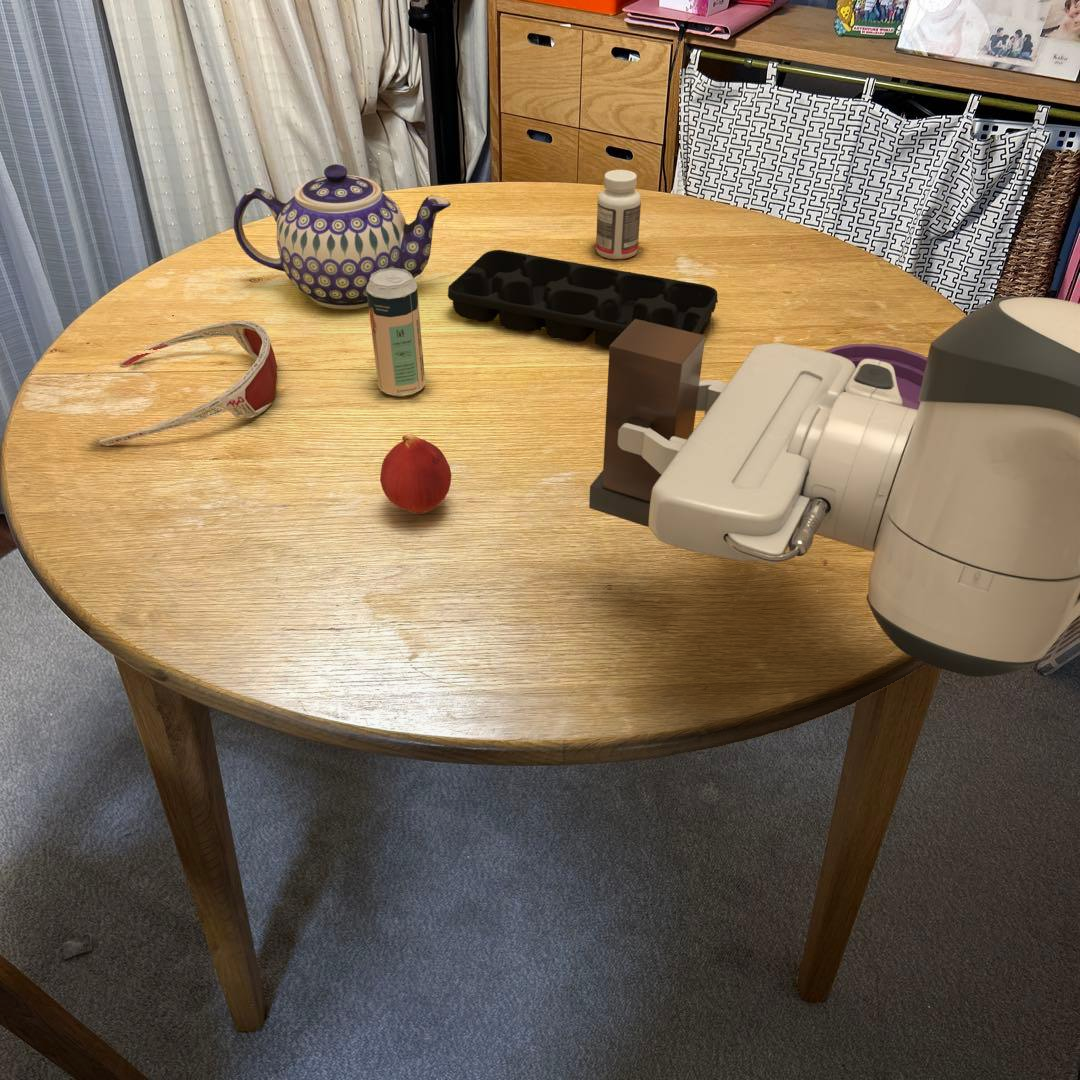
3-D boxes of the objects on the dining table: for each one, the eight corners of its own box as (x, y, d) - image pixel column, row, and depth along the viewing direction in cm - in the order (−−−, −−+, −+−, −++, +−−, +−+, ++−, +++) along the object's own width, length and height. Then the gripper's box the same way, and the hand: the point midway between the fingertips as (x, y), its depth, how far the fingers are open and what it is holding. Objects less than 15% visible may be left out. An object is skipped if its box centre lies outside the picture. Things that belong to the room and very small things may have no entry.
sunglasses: (287, 429, 92) (268, 385, 88) (113, 476, 91) (87, 433, 88) (285, 342, 104) (269, 301, 101) (133, 382, 104) (111, 342, 100)
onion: (424, 482, 86) (417, 406, 80) (467, 511, 83) (462, 433, 77) (372, 511, 83) (361, 433, 77) (414, 542, 79) (405, 463, 74)
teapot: (228, 316, 110) (198, 186, 100) (267, 260, 121) (244, 139, 112) (445, 324, 108) (436, 194, 99) (464, 267, 120) (457, 145, 110)
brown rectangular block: (697, 500, 68) (719, 336, 60) (674, 536, 65) (694, 368, 57) (614, 475, 71) (624, 314, 62) (588, 508, 68) (595, 343, 59)
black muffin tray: (710, 370, 101) (714, 338, 98) (433, 343, 105) (430, 312, 102) (717, 295, 114) (721, 265, 111) (471, 274, 118) (470, 245, 116)
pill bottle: (634, 242, 125) (639, 166, 119) (640, 260, 121) (646, 182, 115) (593, 243, 125) (596, 167, 119) (597, 261, 121) (601, 183, 115)
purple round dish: (951, 382, 99) (959, 356, 97) (949, 458, 89) (959, 431, 87) (811, 359, 102) (816, 334, 100) (794, 430, 92) (799, 404, 90)
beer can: (400, 370, 101) (389, 261, 93) (435, 384, 98) (426, 274, 91) (368, 390, 98) (354, 279, 90) (403, 405, 95) (392, 292, 88)
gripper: (789, 611, 54) (568, 536, 59) (874, 430, 67) (689, 382, 72) (810, 524, 50) (570, 451, 54) (895, 350, 63) (698, 305, 68)
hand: (639, 411), depth 64 cm, fingers closed on brown rectangular block, 4 cm apart
